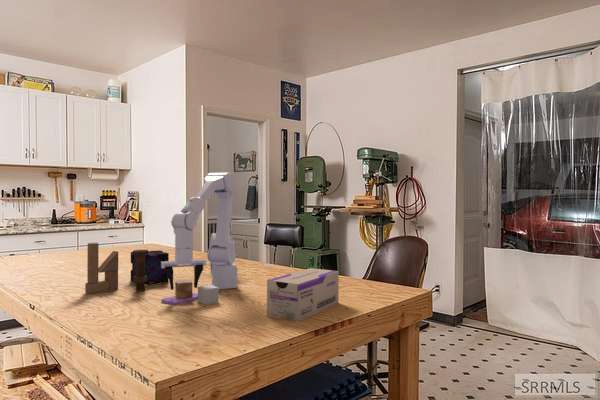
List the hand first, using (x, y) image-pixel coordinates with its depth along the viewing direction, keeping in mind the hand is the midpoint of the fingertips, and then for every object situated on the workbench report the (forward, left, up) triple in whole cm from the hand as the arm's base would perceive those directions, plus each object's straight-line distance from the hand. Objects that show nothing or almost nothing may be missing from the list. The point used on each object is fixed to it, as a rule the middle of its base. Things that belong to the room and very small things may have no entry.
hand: (183, 288), depth 140 cm
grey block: (-7, +6, -4) cm, 10 cm away
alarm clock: (-21, -40, -4) cm, 45 cm away
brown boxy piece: (0, 0, -3) cm, 3 cm away
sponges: (0, 0, -5) cm, 5 cm away
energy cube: (+9, -37, -4) cm, 38 cm away
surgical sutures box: (-33, +26, -4) cm, 42 cm away
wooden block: (+26, -25, -4) cm, 36 cm away
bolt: (+13, -20, -4) cm, 24 cm away
